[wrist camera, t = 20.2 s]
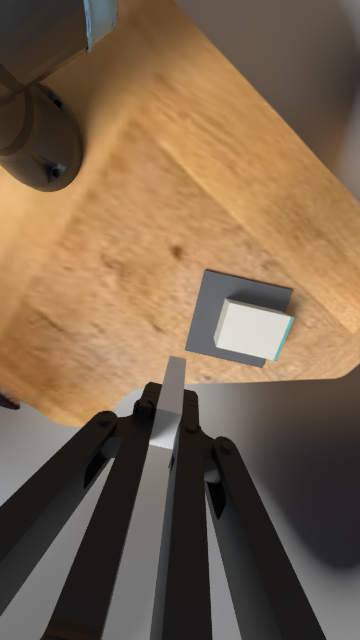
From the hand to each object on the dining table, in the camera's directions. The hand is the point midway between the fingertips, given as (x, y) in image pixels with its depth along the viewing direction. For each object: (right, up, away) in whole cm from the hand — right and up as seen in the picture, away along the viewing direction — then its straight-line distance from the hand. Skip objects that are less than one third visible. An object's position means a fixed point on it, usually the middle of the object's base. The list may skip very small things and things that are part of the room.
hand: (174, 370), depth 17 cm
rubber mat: (+12, +4, +23) cm, 27 cm away
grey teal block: (+9, +4, +20) cm, 23 cm away
